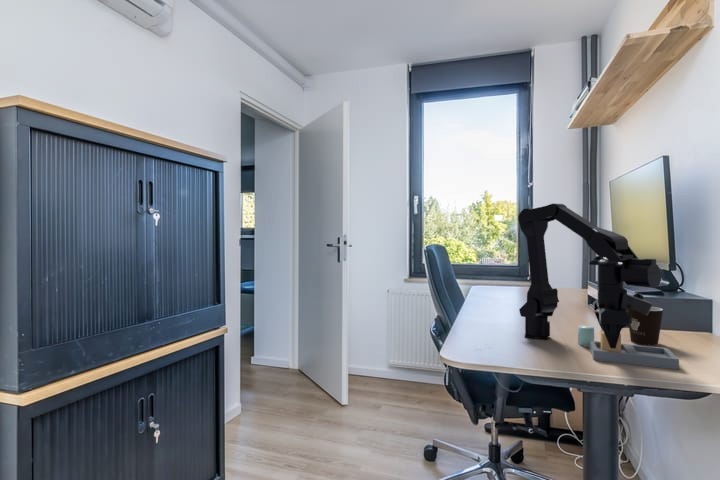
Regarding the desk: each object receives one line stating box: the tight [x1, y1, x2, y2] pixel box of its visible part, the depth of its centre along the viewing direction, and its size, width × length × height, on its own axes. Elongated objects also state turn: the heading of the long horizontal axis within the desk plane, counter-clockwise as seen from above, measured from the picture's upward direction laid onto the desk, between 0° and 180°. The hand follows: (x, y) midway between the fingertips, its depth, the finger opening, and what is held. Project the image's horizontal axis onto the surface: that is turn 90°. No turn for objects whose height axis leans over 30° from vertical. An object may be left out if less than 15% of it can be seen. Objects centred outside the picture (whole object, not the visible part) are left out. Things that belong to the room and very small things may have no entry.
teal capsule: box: [577, 325, 595, 348], centre depth 111 cm, size 4×4×5 cm
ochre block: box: [600, 329, 622, 352], centre depth 100 cm, size 4×4×5 cm
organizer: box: [589, 340, 680, 370], centre depth 98 cm, size 17×10×2 cm, turn 64°
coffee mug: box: [626, 306, 664, 347], centre depth 114 cm, size 12×9×10 cm
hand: (610, 344), depth 100 cm, fingers open, 8 cm apart
